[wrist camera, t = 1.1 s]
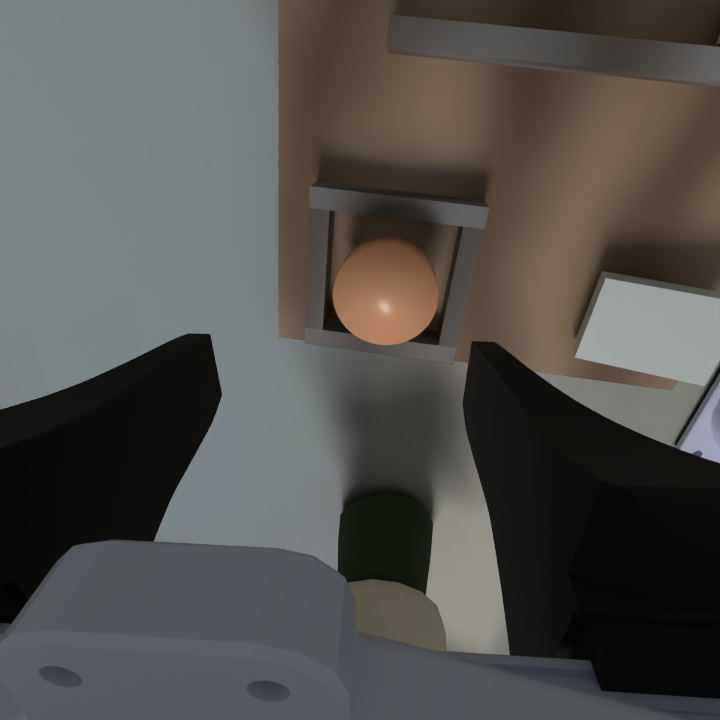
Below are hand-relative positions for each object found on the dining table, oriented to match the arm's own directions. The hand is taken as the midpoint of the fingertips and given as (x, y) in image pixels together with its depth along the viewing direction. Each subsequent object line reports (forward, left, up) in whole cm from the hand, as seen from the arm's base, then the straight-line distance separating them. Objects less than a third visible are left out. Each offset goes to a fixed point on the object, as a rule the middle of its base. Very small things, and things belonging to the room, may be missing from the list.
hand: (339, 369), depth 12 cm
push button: (-1, 0, -7) cm, 7 cm away
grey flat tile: (-12, 0, -7) cm, 14 cm away
